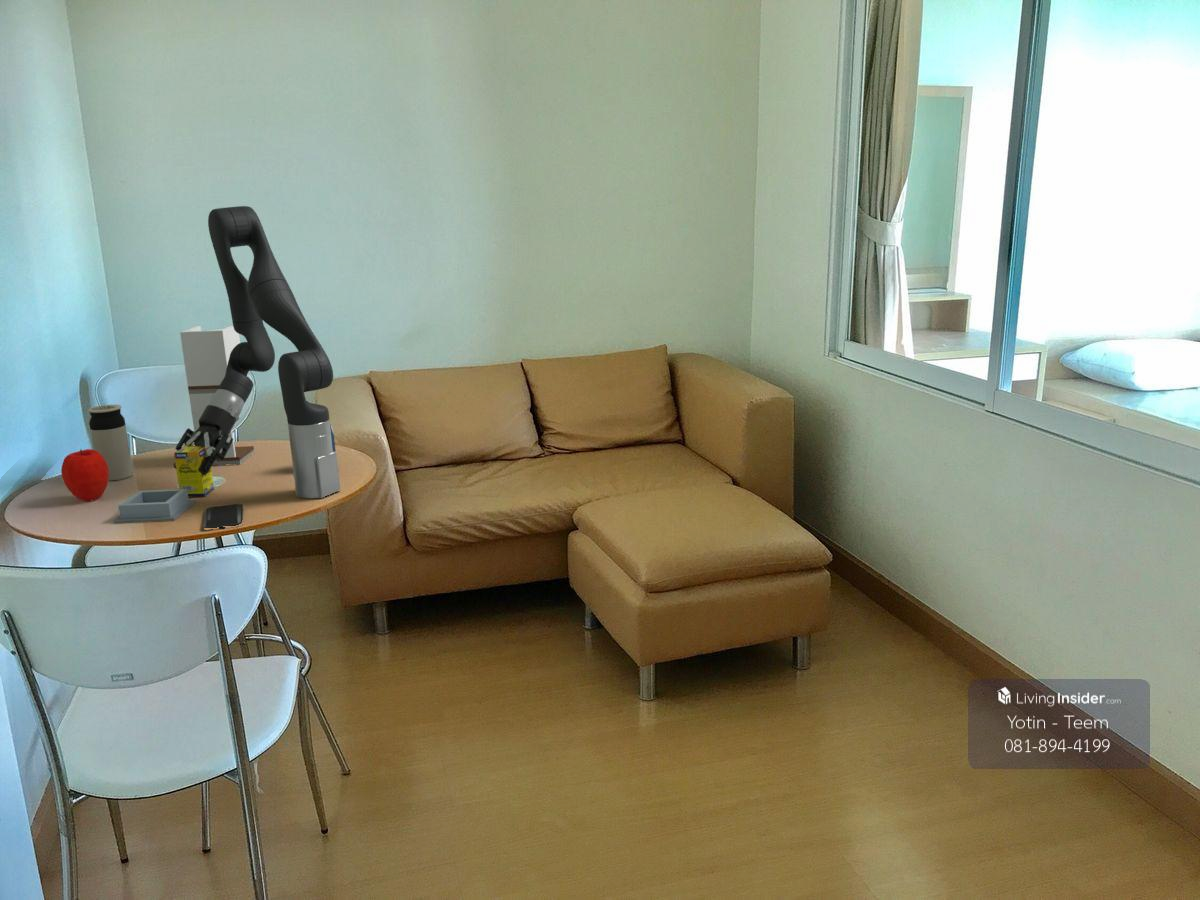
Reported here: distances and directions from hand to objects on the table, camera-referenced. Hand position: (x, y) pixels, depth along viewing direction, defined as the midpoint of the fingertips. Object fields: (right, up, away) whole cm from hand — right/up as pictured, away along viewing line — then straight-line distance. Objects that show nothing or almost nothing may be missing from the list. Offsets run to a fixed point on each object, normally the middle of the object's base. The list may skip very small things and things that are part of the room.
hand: (189, 471), depth 231 cm
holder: (-3, -9, -11) cm, 14 cm away
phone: (+14, -11, -16) cm, 24 cm away
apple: (-24, -7, +1) cm, 25 cm away
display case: (-3, +2, +32) cm, 33 cm away
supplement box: (+1, -6, +3) cm, 6 cm away
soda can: (+26, 0, +21) cm, 33 cm away
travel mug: (-26, -2, +19) cm, 33 cm away
